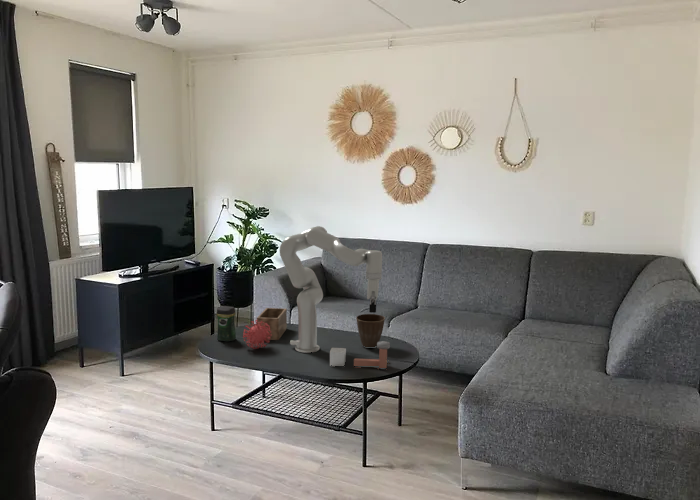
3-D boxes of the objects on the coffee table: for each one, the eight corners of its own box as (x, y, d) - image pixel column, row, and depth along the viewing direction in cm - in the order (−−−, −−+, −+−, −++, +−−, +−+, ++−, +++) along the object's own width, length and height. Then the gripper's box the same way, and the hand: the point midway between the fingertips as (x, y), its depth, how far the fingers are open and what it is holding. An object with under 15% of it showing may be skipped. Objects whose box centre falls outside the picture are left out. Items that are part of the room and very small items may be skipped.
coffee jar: (238, 338, 311) (237, 305, 308) (230, 342, 303) (230, 308, 300) (222, 336, 313) (221, 303, 311) (214, 340, 306) (214, 307, 303)
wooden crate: (256, 339, 310) (256, 317, 308) (266, 327, 332) (266, 307, 330) (278, 340, 309) (278, 318, 307) (286, 328, 331) (286, 308, 329)
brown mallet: (353, 368, 267) (353, 344, 265) (354, 363, 274) (355, 339, 272) (389, 370, 266) (389, 345, 264) (389, 365, 273) (390, 341, 271)
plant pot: (387, 350, 294) (388, 320, 292) (359, 352, 291) (359, 322, 289) (379, 342, 308) (380, 313, 306) (353, 343, 305) (353, 314, 303)
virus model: (275, 344, 301) (274, 317, 299) (266, 353, 286) (266, 325, 284) (248, 343, 303) (247, 315, 301) (238, 351, 289) (238, 323, 286)
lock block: (329, 366, 270) (329, 352, 269) (331, 361, 277) (331, 347, 276) (344, 366, 270) (344, 352, 269) (345, 362, 276) (345, 348, 275)
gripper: (366, 272, 286) (365, 305, 289) (365, 279, 269) (364, 314, 271) (381, 272, 286) (380, 305, 288) (381, 279, 268) (380, 314, 271)
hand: (372, 309), depth 280 cm, fingers open, 9 cm apart
